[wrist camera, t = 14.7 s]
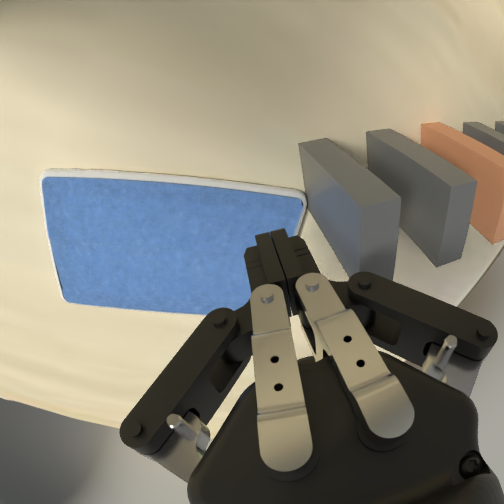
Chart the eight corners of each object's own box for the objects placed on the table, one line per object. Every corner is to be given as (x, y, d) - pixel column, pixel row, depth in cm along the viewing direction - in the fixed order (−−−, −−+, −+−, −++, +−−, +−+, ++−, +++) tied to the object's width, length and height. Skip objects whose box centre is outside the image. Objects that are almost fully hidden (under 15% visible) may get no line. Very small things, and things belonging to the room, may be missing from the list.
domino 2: (368, 194, 22) (436, 267, 14) (366, 131, 19) (451, 186, 11) (389, 189, 22) (460, 258, 14) (389, 128, 19) (477, 180, 11)
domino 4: (459, 174, 21) (528, 229, 14) (463, 122, 18) (544, 166, 11) (472, 172, 21) (540, 223, 14) (477, 121, 18) (555, 164, 11)
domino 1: (307, 208, 22) (358, 293, 14) (298, 143, 19) (360, 207, 11) (332, 202, 22) (392, 282, 14) (326, 138, 19) (401, 197, 11)
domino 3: (419, 181, 21) (492, 244, 14) (421, 124, 18) (508, 172, 11) (436, 178, 21) (508, 237, 14) (439, 122, 18) (525, 168, 11)
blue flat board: (65, 295, 24) (61, 305, 23) (42, 164, 17) (34, 171, 16) (267, 310, 28) (270, 320, 27) (307, 186, 21) (312, 194, 20)
